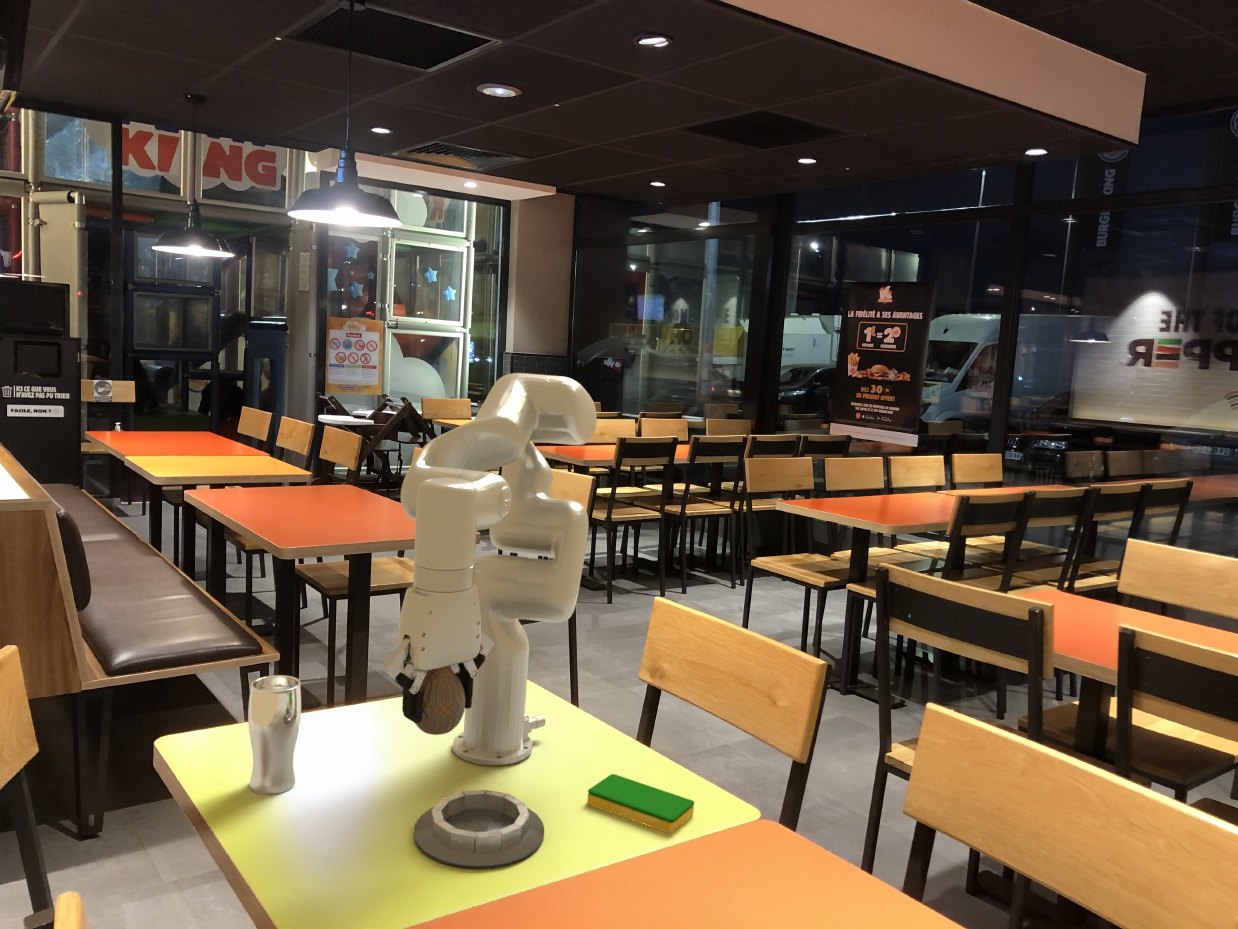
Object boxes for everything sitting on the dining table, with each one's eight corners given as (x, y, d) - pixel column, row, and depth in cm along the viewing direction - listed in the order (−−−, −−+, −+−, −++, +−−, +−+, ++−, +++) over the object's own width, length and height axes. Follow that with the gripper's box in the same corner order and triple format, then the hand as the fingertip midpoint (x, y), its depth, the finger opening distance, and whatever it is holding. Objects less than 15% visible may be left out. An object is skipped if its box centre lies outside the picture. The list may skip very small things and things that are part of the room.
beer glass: (281, 800, 127) (284, 695, 126) (235, 791, 129) (238, 688, 127) (307, 778, 134) (311, 678, 132) (264, 770, 135) (267, 671, 134)
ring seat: (488, 791, 134) (489, 771, 134) (570, 838, 123) (571, 816, 123) (387, 829, 122) (388, 807, 121) (468, 885, 110) (470, 862, 110)
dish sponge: (611, 788, 139) (612, 772, 139) (694, 816, 132) (695, 800, 132) (585, 806, 133) (587, 789, 133) (671, 837, 126) (672, 820, 126)
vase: (436, 745, 114) (439, 677, 113) (397, 729, 118) (400, 663, 117) (475, 727, 120) (478, 662, 118) (437, 712, 123) (439, 649, 122)
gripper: (481, 561, 125) (475, 688, 127) (366, 579, 112) (361, 719, 115) (516, 574, 120) (509, 706, 122) (399, 595, 107) (394, 740, 110)
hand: (437, 711), depth 118 cm, fingers closed on vase, 6 cm apart
